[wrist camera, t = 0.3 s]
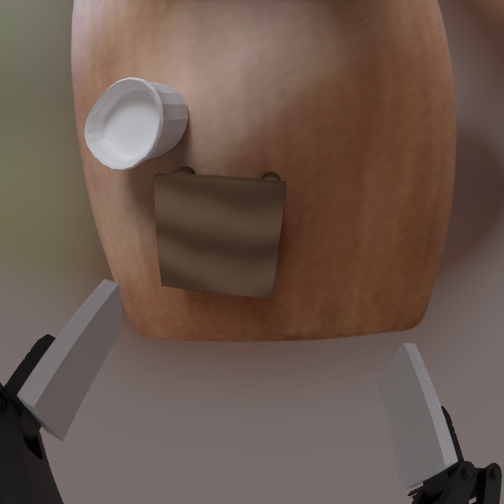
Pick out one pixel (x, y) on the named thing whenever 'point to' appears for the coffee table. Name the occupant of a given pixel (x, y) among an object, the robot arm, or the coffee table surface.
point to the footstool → (219, 232)
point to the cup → (135, 123)
